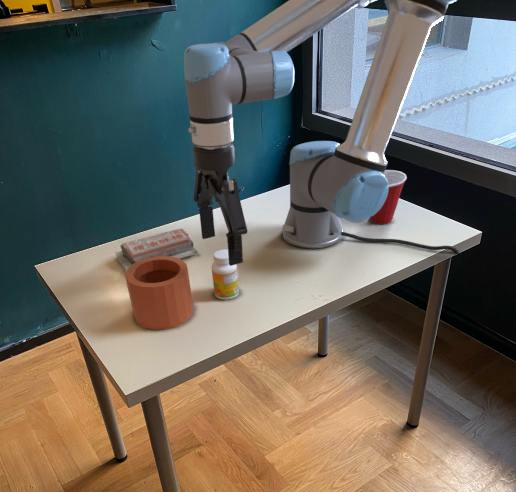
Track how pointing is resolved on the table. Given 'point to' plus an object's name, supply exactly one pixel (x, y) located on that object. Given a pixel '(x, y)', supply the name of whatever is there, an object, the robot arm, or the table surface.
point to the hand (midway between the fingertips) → (221, 249)
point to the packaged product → (157, 247)
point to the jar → (160, 292)
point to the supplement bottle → (224, 276)
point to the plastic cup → (390, 197)
